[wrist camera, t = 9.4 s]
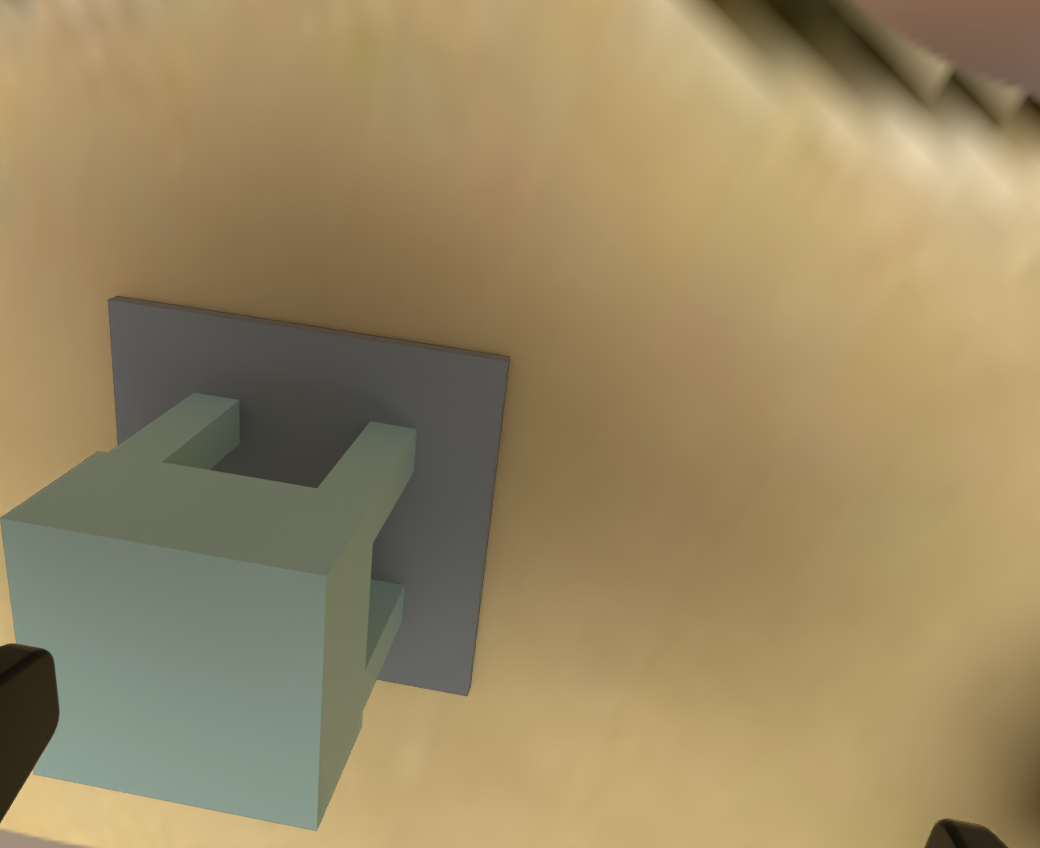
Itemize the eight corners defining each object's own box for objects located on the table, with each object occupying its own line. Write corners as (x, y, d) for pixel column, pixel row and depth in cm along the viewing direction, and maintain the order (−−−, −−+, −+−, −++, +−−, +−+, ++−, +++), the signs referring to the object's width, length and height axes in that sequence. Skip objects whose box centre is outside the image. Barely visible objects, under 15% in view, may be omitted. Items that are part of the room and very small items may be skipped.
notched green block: (405, 625, 24) (316, 830, 17) (196, 587, 24) (32, 774, 18) (421, 426, 21) (326, 576, 15) (190, 388, 22) (-1, 518, 15)
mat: (510, 356, 21) (507, 361, 20) (470, 686, 24) (467, 696, 24) (117, 296, 21) (107, 299, 21) (138, 625, 25) (130, 634, 25)
